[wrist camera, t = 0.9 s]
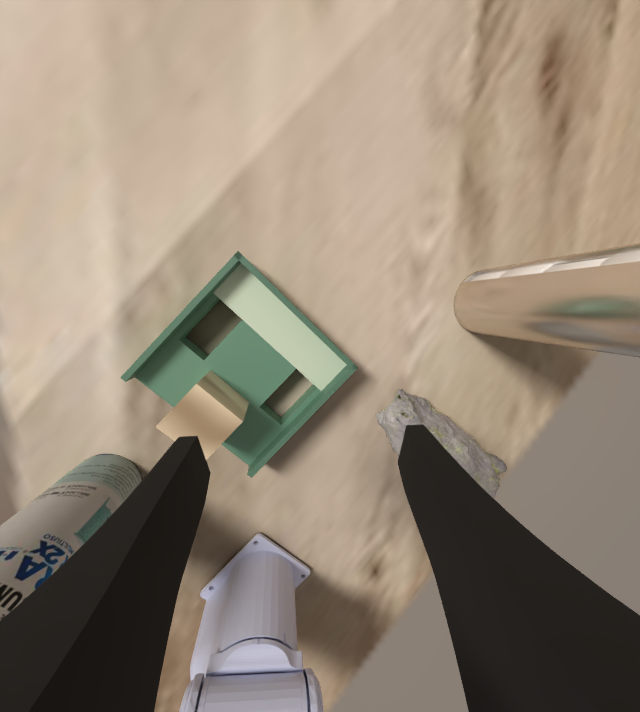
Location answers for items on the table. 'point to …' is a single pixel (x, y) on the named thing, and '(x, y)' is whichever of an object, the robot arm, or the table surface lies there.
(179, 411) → the beech block
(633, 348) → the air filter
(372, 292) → the table surface
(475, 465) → the rock
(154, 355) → the box
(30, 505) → the spray paint can
